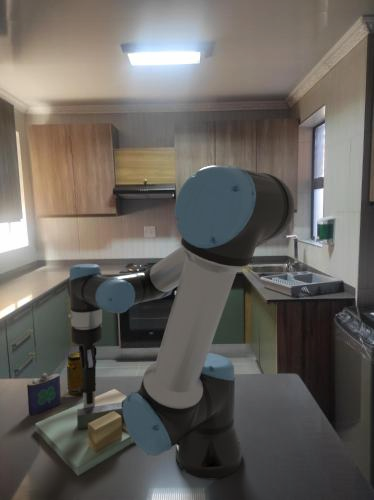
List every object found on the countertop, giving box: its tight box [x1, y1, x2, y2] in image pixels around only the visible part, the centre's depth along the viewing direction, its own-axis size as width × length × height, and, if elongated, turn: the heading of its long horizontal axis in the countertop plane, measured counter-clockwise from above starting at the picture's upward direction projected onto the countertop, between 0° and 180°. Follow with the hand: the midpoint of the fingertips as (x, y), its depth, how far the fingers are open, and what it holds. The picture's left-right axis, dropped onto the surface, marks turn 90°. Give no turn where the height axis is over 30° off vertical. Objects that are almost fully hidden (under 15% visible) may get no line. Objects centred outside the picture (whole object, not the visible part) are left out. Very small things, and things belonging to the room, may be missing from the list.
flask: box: [26, 372, 62, 418], centre depth 94 cm, size 9×3×11 cm, turn 138°
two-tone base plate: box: [34, 388, 135, 477], centre depth 86 cm, size 22×24×8 cm
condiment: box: [63, 351, 97, 398], centre depth 104 cm, size 7×8×12 cm
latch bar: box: [77, 400, 124, 429], centre depth 85 cm, size 15×4×4 cm, turn 107°
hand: (89, 412), depth 86 cm, fingers closed
